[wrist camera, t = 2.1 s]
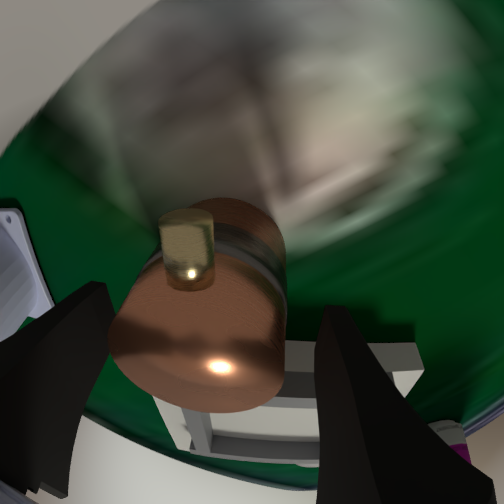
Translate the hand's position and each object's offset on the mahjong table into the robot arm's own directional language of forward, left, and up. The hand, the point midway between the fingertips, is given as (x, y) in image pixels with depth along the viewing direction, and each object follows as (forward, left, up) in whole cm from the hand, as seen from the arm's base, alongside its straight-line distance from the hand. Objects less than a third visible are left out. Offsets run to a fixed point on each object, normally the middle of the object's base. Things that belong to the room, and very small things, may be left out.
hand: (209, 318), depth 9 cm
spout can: (0, 0, -4) cm, 4 cm away
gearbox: (+5, -12, -4) cm, 14 cm away
